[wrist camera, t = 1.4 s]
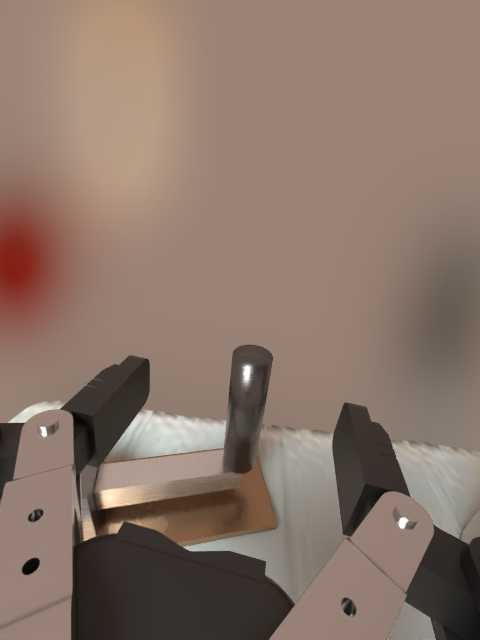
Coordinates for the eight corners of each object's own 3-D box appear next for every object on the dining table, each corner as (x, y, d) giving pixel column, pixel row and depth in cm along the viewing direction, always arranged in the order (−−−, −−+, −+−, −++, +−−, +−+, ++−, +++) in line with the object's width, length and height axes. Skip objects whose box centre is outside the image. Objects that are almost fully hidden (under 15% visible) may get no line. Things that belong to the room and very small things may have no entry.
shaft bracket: (252, 449, 36) (258, 411, 33) (275, 528, 29) (286, 488, 26) (-14, 482, 30) (-34, 439, 27) (-75, 595, 22) (-113, 552, 19)
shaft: (248, 460, 33) (266, 343, 26) (256, 488, 30) (278, 366, 23) (74, 483, 29) (40, 353, 22) (65, 518, 26) (22, 382, 19)
